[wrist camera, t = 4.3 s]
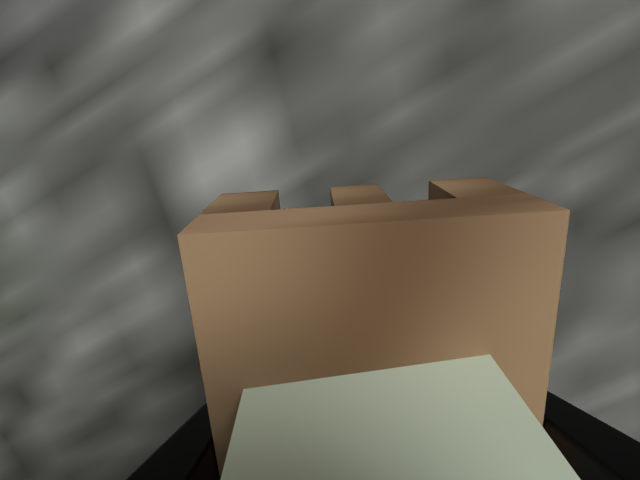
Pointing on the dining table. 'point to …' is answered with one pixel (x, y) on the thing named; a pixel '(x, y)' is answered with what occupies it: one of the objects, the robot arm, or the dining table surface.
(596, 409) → the dining table surface
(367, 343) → the walnut pallet
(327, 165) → the dining table surface
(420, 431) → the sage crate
